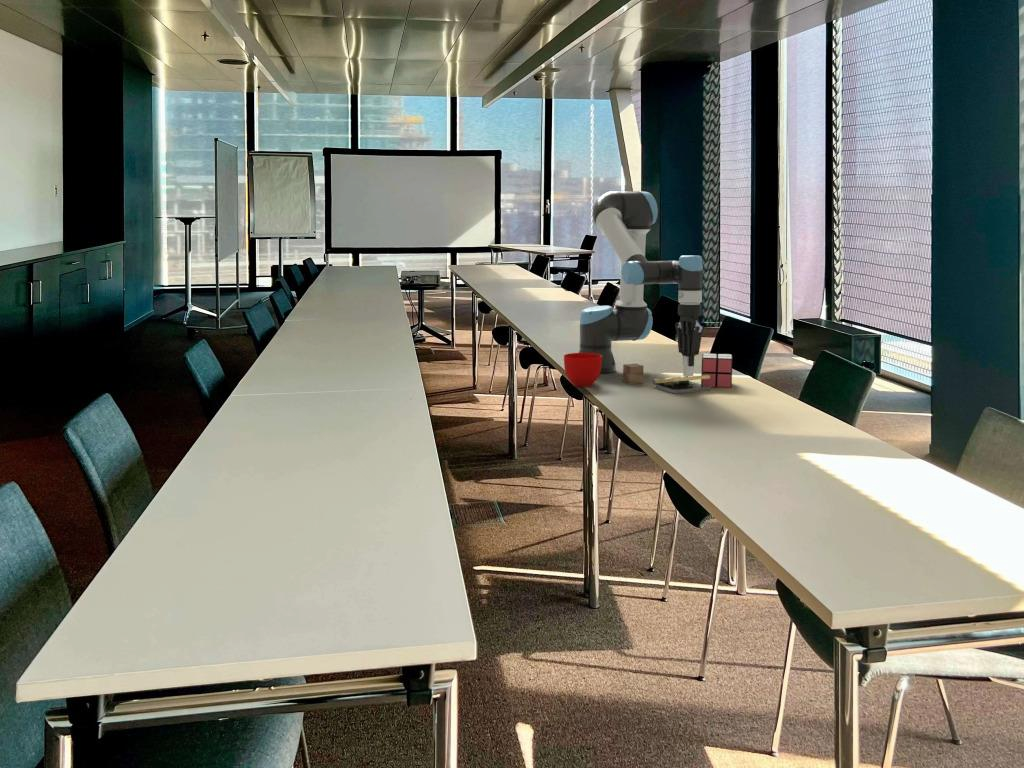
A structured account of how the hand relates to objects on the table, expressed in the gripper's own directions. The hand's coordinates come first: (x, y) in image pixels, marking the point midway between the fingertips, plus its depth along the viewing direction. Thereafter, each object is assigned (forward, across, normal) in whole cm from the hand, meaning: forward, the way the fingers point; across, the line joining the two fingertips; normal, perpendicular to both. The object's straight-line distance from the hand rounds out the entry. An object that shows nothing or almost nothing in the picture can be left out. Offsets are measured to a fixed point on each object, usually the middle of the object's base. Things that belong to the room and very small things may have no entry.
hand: (688, 375), depth 314 cm
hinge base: (+5, -4, 0) cm, 7 cm away
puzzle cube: (+5, -5, +15) cm, 17 cm away
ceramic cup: (+5, -25, -25) cm, 36 cm away
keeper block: (+5, -21, -8) cm, 23 cm away
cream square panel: (+3, -4, 0) cm, 5 cm away
